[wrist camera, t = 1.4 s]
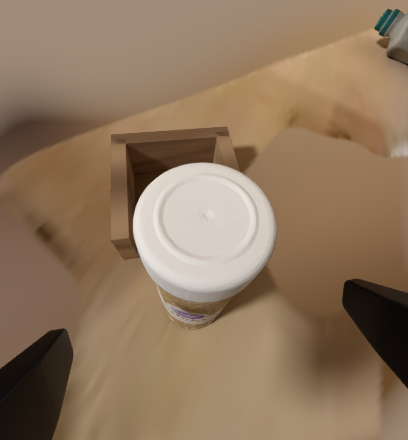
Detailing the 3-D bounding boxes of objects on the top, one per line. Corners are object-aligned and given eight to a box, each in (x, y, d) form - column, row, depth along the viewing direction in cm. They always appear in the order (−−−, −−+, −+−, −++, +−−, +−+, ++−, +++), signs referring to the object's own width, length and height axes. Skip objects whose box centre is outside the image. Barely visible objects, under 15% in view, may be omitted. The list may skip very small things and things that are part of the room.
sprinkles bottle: (163, 331, 18) (120, 293, 6) (165, 270, 20) (136, 155, 8) (224, 329, 18) (296, 288, 7) (220, 269, 20) (268, 157, 9)
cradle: (244, 242, 22) (255, 221, 18) (123, 259, 20) (110, 240, 17) (221, 156, 26) (226, 126, 23) (121, 165, 25) (111, 134, 21)
